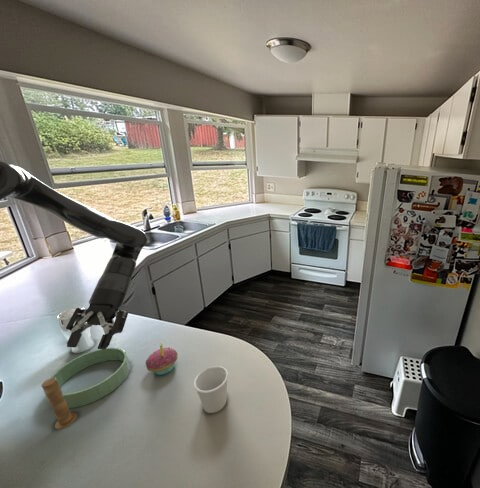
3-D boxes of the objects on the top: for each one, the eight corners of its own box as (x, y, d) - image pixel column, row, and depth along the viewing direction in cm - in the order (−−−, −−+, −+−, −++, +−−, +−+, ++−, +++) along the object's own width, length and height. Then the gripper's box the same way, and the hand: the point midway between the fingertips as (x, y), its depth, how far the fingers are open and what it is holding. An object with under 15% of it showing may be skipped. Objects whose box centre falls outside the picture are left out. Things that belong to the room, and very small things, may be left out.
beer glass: (92, 339, 92) (80, 304, 87) (100, 346, 89) (88, 311, 83) (66, 351, 86) (52, 314, 81) (74, 359, 83) (60, 322, 78)
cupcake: (185, 367, 82) (179, 337, 78) (157, 386, 75) (149, 354, 71) (170, 356, 86) (164, 327, 82) (143, 373, 79) (134, 343, 75)
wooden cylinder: (53, 434, 61) (32, 392, 57) (59, 419, 65) (40, 378, 60) (75, 426, 63) (56, 385, 58) (80, 412, 66) (63, 372, 62)
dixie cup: (207, 426, 64) (202, 398, 61) (193, 406, 69) (188, 378, 66) (237, 404, 70) (234, 377, 67) (222, 386, 75) (218, 360, 72)
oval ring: (42, 421, 64) (34, 406, 62) (66, 372, 78) (61, 358, 76) (125, 394, 72) (121, 379, 70) (134, 353, 86) (130, 341, 84)
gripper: (77, 285, 72) (47, 346, 65) (125, 288, 71) (100, 349, 64) (98, 292, 78) (73, 347, 72) (142, 294, 78) (122, 350, 71)
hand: (86, 348), depth 68 cm, fingers open, 8 cm apart
